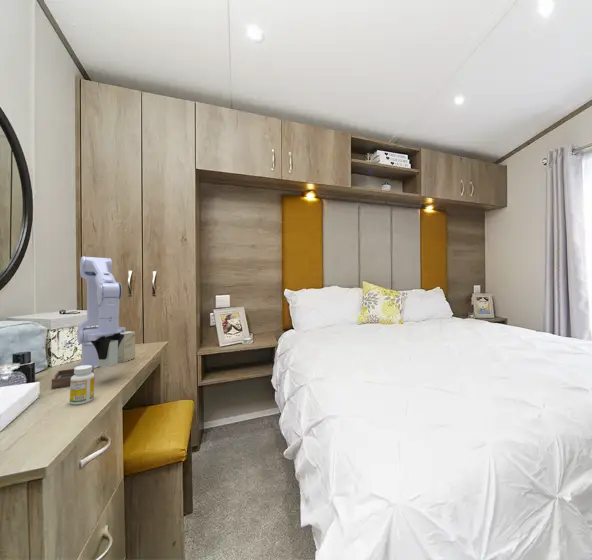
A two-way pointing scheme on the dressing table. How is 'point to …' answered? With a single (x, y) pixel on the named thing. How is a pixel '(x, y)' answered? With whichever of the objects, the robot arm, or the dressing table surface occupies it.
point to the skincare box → (127, 347)
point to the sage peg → (110, 355)
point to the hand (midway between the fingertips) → (107, 357)
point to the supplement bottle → (82, 385)
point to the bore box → (63, 378)
